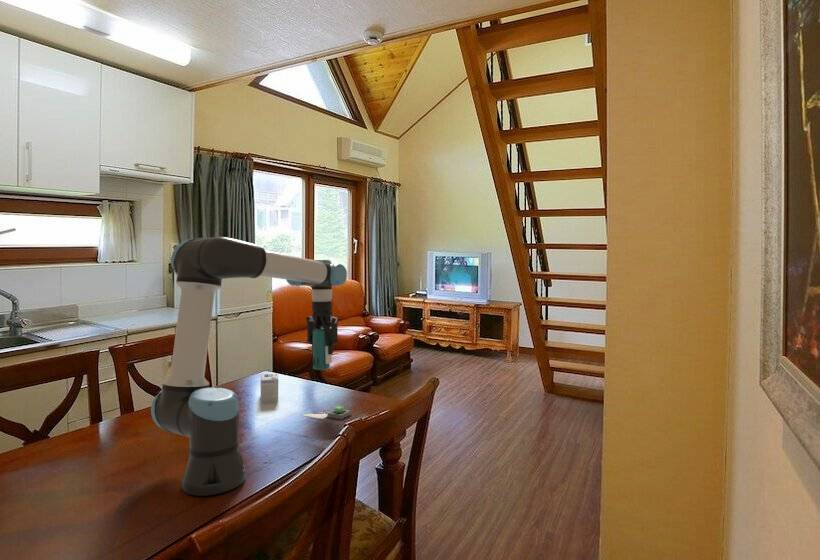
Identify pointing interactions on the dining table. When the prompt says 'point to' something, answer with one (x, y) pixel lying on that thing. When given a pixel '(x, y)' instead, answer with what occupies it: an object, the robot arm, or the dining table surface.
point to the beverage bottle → (319, 348)
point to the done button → (339, 409)
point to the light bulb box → (269, 388)
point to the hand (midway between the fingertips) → (322, 362)
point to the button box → (339, 416)
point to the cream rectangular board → (316, 416)
